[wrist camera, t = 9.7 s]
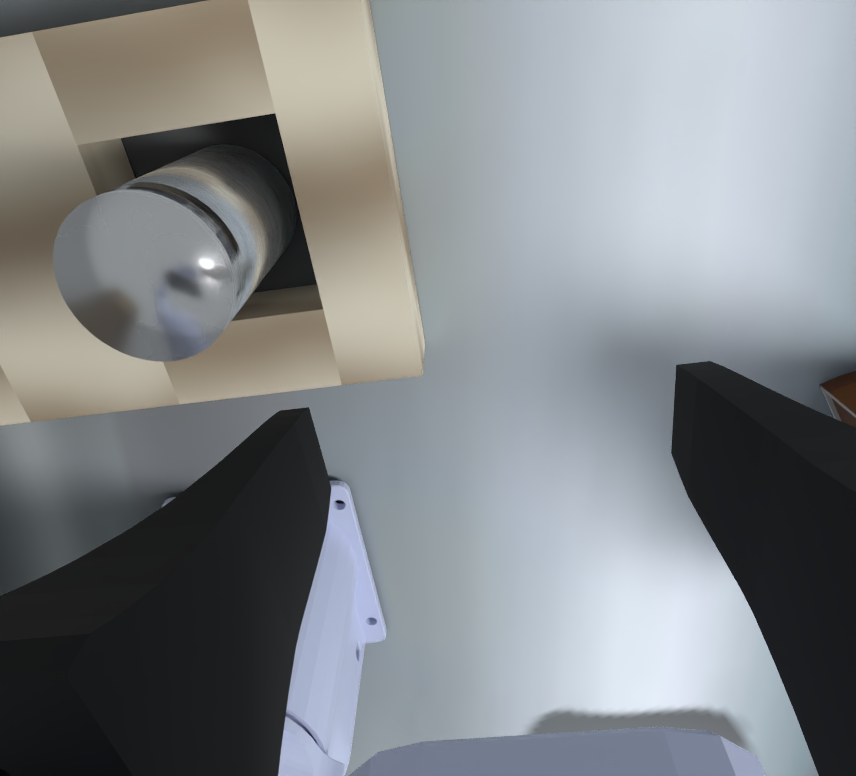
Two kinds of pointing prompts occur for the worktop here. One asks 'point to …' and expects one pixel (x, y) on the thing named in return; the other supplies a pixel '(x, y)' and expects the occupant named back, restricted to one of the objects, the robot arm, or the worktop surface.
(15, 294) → the board
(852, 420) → the food container
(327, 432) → the worktop surface
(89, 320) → the silver metal cylinder
